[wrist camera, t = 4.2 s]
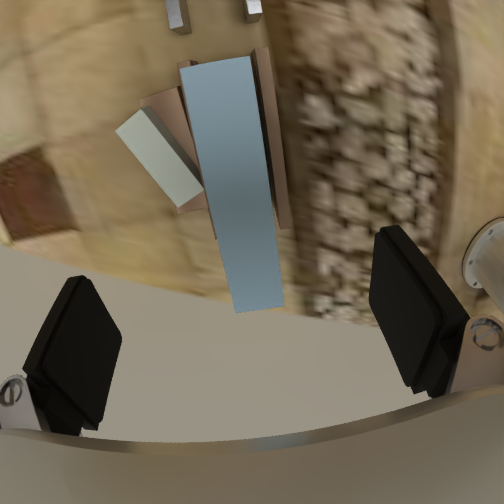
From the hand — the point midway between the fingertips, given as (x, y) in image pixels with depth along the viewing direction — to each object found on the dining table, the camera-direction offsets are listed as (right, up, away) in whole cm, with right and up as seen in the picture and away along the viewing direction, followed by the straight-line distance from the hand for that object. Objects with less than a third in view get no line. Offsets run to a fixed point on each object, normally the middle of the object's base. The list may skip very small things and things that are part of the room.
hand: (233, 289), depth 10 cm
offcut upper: (-7, +10, +17) cm, 21 cm away
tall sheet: (-1, +12, +19) cm, 22 cm away
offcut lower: (-6, +11, +19) cm, 23 cm away
